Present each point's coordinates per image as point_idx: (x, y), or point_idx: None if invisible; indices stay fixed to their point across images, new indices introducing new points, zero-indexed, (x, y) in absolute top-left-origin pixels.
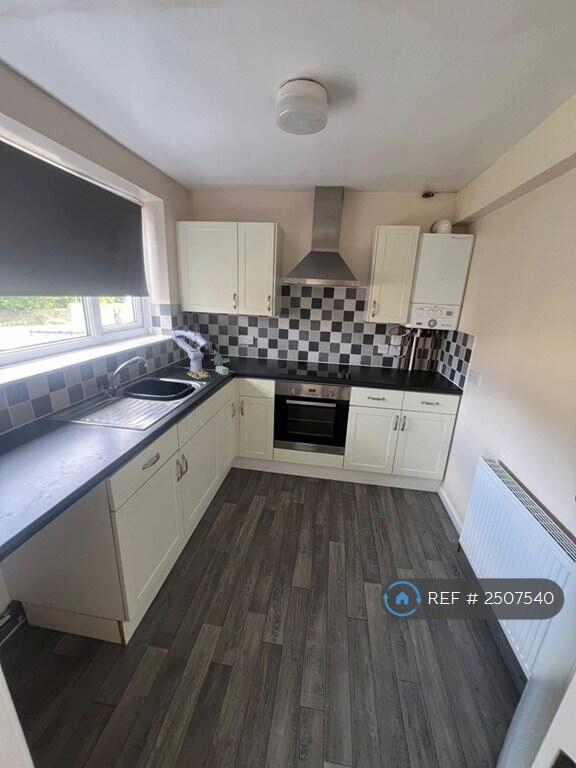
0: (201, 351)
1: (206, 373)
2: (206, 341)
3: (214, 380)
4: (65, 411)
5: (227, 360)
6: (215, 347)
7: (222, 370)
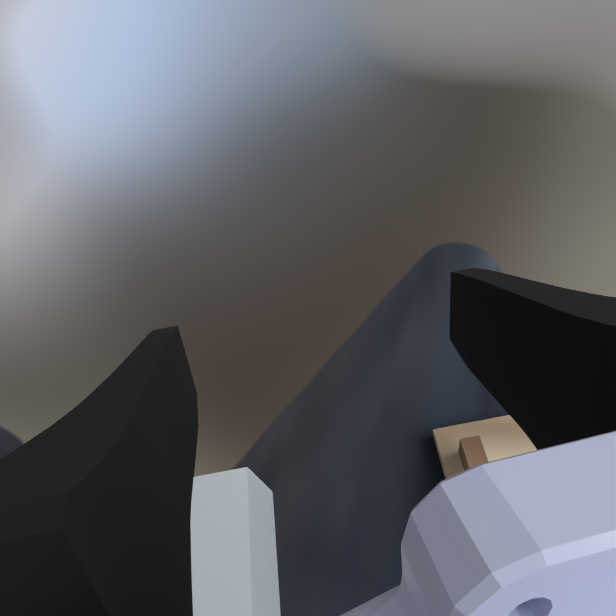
0: None
1: None
2: (599, 516)
3: (426, 306)
4: None
5: None
6: (152, 365)
7: (252, 474)
